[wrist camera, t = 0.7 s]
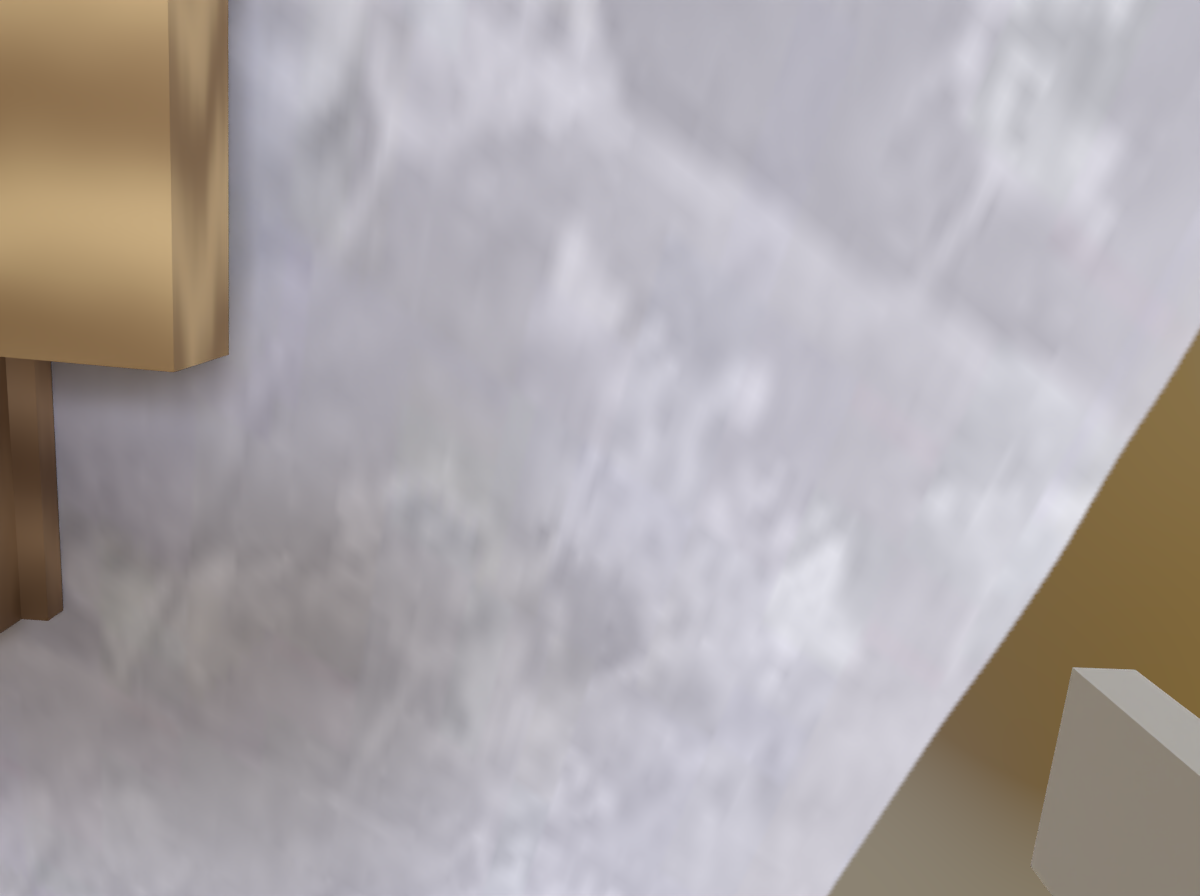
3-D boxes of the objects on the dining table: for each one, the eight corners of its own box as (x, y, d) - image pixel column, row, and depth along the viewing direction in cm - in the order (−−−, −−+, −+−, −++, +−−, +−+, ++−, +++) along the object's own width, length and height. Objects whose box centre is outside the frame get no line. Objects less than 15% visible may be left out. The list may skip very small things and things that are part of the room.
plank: (14, -151, 24) (-92, -228, 20) (227, -124, 25) (164, -194, 21) (39, 337, 27) (-48, 352, 24) (228, 354, 28) (173, 372, 24)
